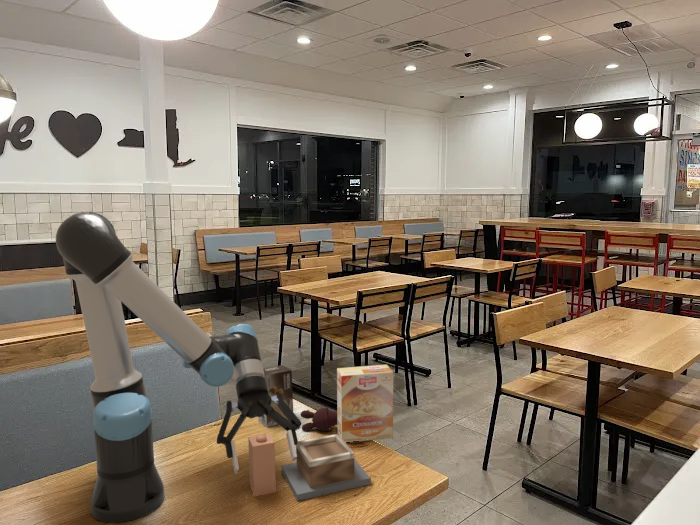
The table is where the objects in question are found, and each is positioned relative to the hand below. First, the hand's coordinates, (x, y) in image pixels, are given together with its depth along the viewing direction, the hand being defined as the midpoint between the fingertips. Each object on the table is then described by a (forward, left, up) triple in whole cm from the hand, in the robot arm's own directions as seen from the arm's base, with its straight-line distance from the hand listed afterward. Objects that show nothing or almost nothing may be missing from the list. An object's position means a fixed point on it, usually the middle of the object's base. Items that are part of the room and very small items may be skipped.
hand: (266, 465), depth 121 cm
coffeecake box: (+32, +17, -6) cm, 37 cm away
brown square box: (+14, 0, -5) cm, 15 cm away
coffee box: (+11, +37, -6) cm, 39 cm away
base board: (+14, 0, -6) cm, 15 cm away
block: (-1, +1, -6) cm, 6 cm away
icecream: (+23, +25, -6) cm, 35 cm away
